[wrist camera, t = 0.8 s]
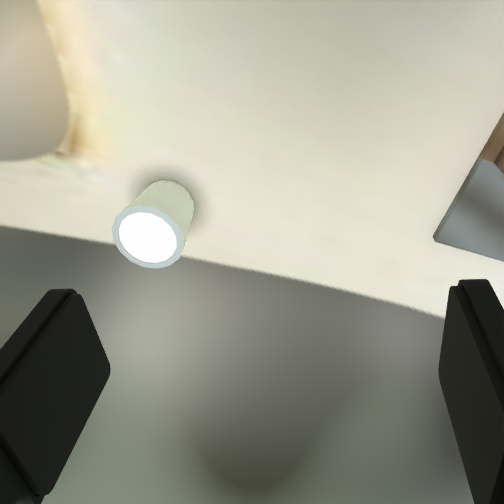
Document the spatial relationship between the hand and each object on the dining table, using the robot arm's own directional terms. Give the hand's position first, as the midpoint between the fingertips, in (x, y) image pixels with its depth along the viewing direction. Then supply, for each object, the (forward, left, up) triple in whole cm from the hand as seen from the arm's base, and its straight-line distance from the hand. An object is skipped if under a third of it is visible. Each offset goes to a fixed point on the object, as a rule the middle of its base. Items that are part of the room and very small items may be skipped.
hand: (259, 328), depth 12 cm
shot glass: (+17, -9, -33) cm, 38 cm away
